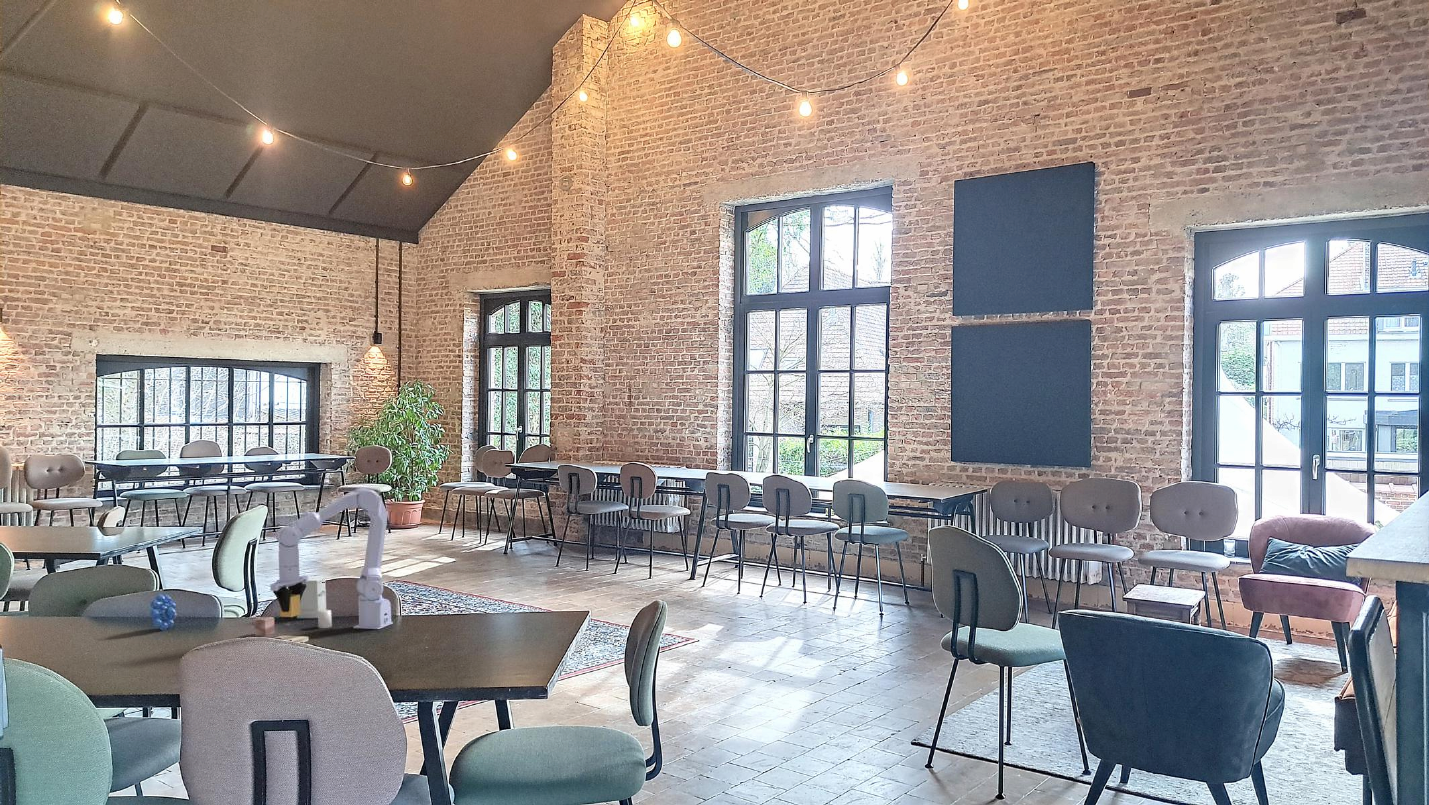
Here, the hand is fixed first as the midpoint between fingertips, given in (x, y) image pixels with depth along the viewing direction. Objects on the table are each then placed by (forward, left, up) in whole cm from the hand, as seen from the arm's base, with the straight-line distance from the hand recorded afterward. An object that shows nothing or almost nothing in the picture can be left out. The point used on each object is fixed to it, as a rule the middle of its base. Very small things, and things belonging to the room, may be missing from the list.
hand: (290, 609), depth 311 cm
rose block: (+12, -3, -9) cm, 15 cm away
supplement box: (+14, -28, -9) cm, 33 cm away
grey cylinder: (-1, -15, -9) cm, 17 cm away
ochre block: (0, 0, -2) cm, 2 cm away
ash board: (-3, +7, -9) cm, 11 cm away
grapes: (+49, -2, -9) cm, 50 cm away
